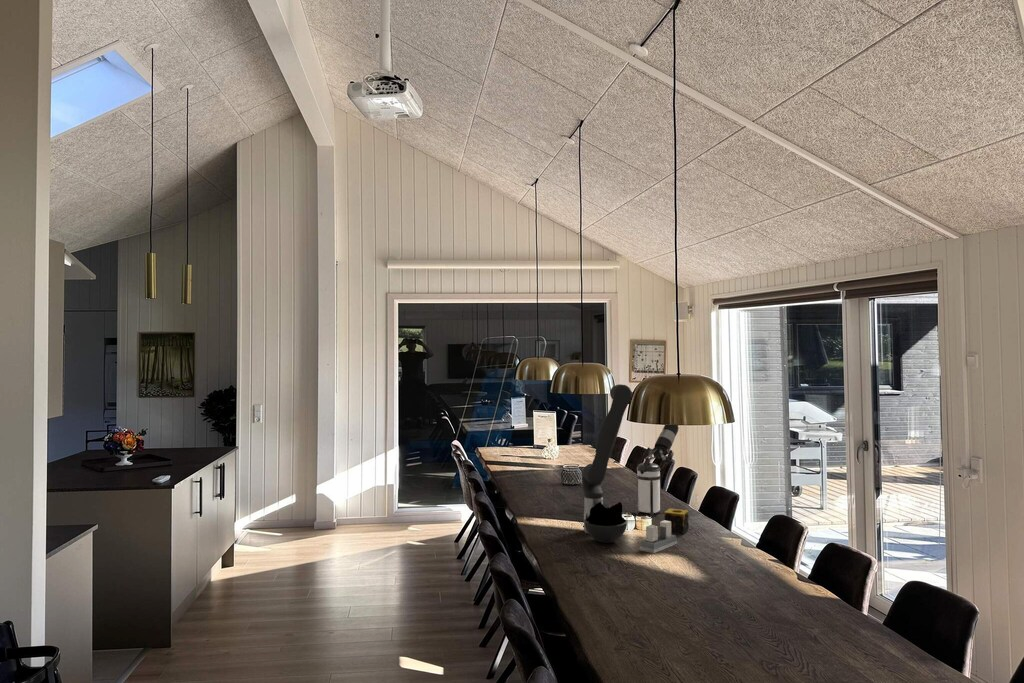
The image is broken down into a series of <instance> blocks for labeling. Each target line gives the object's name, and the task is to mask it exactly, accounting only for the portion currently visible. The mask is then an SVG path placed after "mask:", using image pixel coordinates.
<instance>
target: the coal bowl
mask: <svg viewBox="0 0 1024 683" xmlns="http://www.w3.org/2000/svg"><path fill="white" fill-rule="evenodd" d="M584 524H585V528H586V530H587V532H588V533H587V534H588V535H589V536H590V538H593V540H595V541H596V542H599V543H603V544H604V543H605V544H609V543H613V542H615V541H618V540H619V539H620V538H622V536H623V535H624V534H625V532H626V529H627V526H628V521H627V519H625V518H623V504H622V502H621V501H619V502H617V503H615V504H613V505H612V506H610V507H606V506H604V503H603V504H602V503H601V502H599V503H597V504H595V506H594V507H592V508H591V509H590V515H589V517H588V518H586V519H585V520H584V519H583V525H584Z"/></svg>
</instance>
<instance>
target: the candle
mask: <svg viewBox="0 0 1024 683" xmlns="http://www.w3.org/2000/svg"><path fill="white" fill-rule="evenodd" d="M689 514H690V513H689V510H687V509H680V508H679V509H676V508H670V507H669V508H668V509H667V510H665V511H664V512H663V515H664V516H663V517H664V520H666V521H671V534H675V533H676V534H677V535H685V534H686V533H687V532H688V531H689V524H690V523H689V516H690V515H689ZM676 534H675V535H676Z"/></svg>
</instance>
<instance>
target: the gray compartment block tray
mask: <svg viewBox="0 0 1024 683" xmlns="http://www.w3.org/2000/svg"><path fill="white" fill-rule="evenodd" d="M658 528H659V527H658V525H654V524H649V525H646V526H645V539H643V540H641V541H640V546H639V551H642V552H647V553H651V554H657V553H658V552H660V551H664V550H665V549H669V548H671V547H673V545H674V546H675V544H676V545H678V540H677V535H676V534H671V537H669V538H663V537H660V533H659V530H658ZM658 533H659V534H658Z"/></svg>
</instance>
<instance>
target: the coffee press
mask: <svg viewBox="0 0 1024 683" xmlns="http://www.w3.org/2000/svg"><path fill="white" fill-rule="evenodd" d="M659 466H660V465H658V464H657V463H654V462H651V461H650V462H649V464H648V466H647V467H645V466H644V462H641V463H639V464H638V465H637V467H636V471H637V472H636V473H637V476H636V478H637V480H636V482H637V483H636V484H637V485H636V486H637V488H636V491H637V494H636V496H637V497H636V498H637V502H636V504H637V505H636V506H637V508H636V509H635V511H634V512H635V514H636V515H638V514H639V513H646V514H650V517H651V516H652V517H654V513H660V514H663V510H662V509H661V497H662V476H661V472H660V471H661V469H660V468H659Z"/></svg>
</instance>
